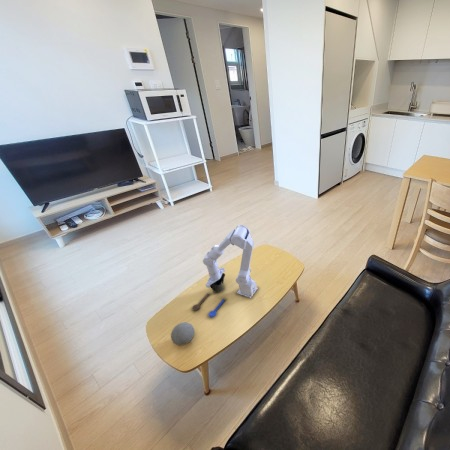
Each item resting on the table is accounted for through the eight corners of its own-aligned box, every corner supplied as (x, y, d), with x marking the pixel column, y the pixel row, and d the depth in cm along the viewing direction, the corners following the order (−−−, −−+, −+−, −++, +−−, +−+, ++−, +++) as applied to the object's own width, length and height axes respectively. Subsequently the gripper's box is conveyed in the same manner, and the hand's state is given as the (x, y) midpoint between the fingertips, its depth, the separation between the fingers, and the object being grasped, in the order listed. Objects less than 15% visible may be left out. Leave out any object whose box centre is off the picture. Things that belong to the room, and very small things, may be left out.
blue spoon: (221, 299, 135) (221, 298, 135) (226, 300, 134) (226, 300, 134) (207, 316, 126) (207, 315, 126) (213, 318, 125) (212, 317, 125)
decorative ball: (174, 353, 110) (167, 341, 104) (174, 334, 118) (168, 322, 112) (197, 344, 113) (191, 332, 108) (195, 327, 121) (190, 315, 115)
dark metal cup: (225, 286, 143) (223, 280, 140) (219, 293, 139) (217, 287, 136) (218, 284, 145) (216, 277, 141) (212, 290, 140) (210, 284, 137)
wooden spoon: (206, 293, 139) (205, 292, 138) (211, 295, 138) (210, 294, 137) (191, 309, 130) (190, 308, 129) (196, 311, 128) (196, 310, 128)
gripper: (216, 260, 140) (220, 276, 148) (199, 277, 129) (204, 294, 136) (226, 263, 138) (230, 280, 145) (209, 281, 127) (214, 297, 134)
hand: (218, 287), depth 141 cm, fingers closed on dark metal cup, 5 cm apart
